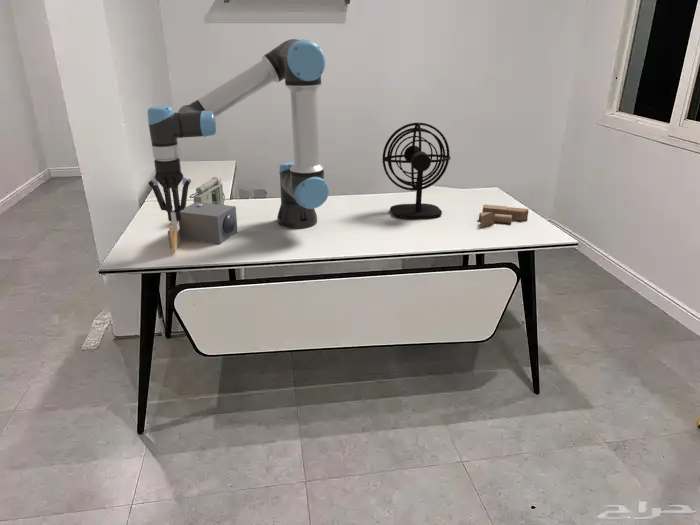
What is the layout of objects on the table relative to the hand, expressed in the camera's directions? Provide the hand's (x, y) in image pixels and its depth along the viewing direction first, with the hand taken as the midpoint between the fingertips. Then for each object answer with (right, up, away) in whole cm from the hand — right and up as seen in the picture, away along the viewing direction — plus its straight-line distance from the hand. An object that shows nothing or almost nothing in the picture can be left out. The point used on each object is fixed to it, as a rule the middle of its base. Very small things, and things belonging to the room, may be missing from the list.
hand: (176, 230), depth 177 cm
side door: (-2, -5, +6) cm, 8 cm away
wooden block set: (+115, +4, +31) cm, 119 cm away
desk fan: (+83, +10, +42) cm, 94 cm away
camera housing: (+6, -1, +16) cm, 18 cm away
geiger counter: (+2, +9, +39) cm, 40 cm away
